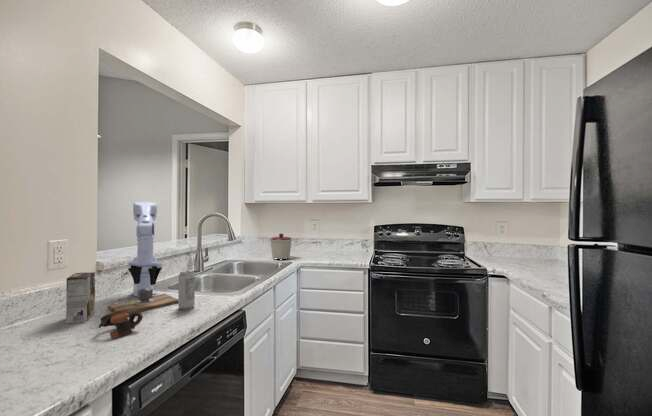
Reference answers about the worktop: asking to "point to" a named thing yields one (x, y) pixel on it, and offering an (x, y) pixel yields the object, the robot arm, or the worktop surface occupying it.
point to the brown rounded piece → (121, 322)
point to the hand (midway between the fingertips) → (145, 284)
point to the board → (144, 304)
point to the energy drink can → (186, 289)
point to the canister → (281, 247)
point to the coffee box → (80, 297)
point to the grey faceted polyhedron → (144, 294)
